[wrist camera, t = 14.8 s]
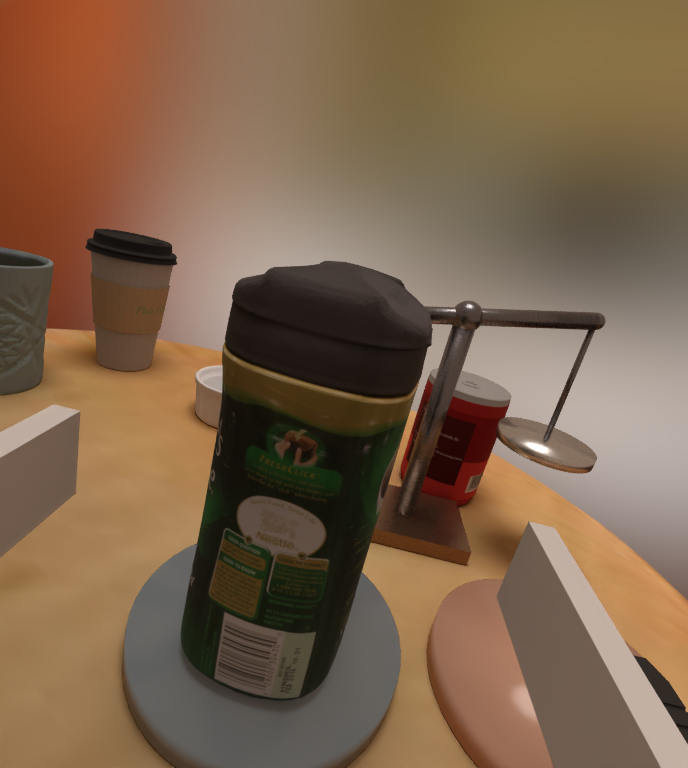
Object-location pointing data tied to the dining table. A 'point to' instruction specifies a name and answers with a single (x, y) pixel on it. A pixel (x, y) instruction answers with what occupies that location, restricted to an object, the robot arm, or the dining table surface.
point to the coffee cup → (128, 296)
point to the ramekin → (209, 394)
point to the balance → (528, 438)
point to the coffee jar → (299, 470)
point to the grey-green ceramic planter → (22, 318)
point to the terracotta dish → (484, 681)
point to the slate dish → (248, 714)
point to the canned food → (461, 437)
